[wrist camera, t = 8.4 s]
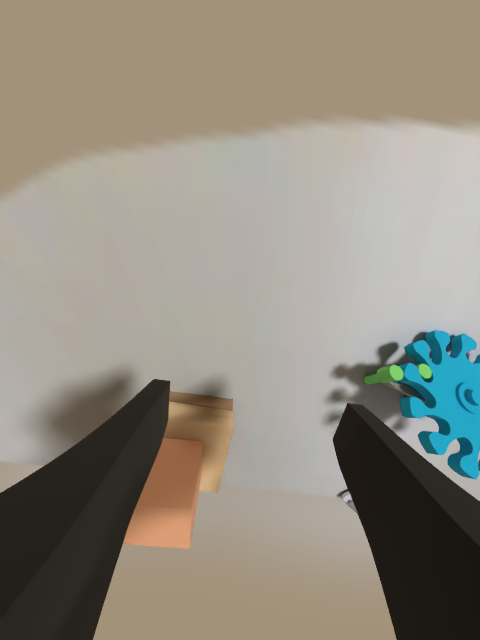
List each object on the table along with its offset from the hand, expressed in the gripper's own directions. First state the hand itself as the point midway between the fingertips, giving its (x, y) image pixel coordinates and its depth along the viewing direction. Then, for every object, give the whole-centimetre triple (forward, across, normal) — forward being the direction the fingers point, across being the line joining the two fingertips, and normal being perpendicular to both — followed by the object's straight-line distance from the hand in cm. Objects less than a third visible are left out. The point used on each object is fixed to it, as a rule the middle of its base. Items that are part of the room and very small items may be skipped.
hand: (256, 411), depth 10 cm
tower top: (+9, +4, +12) cm, 16 cm away
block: (+7, +4, +12) cm, 15 cm away
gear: (+10, -15, +2) cm, 19 cm away
